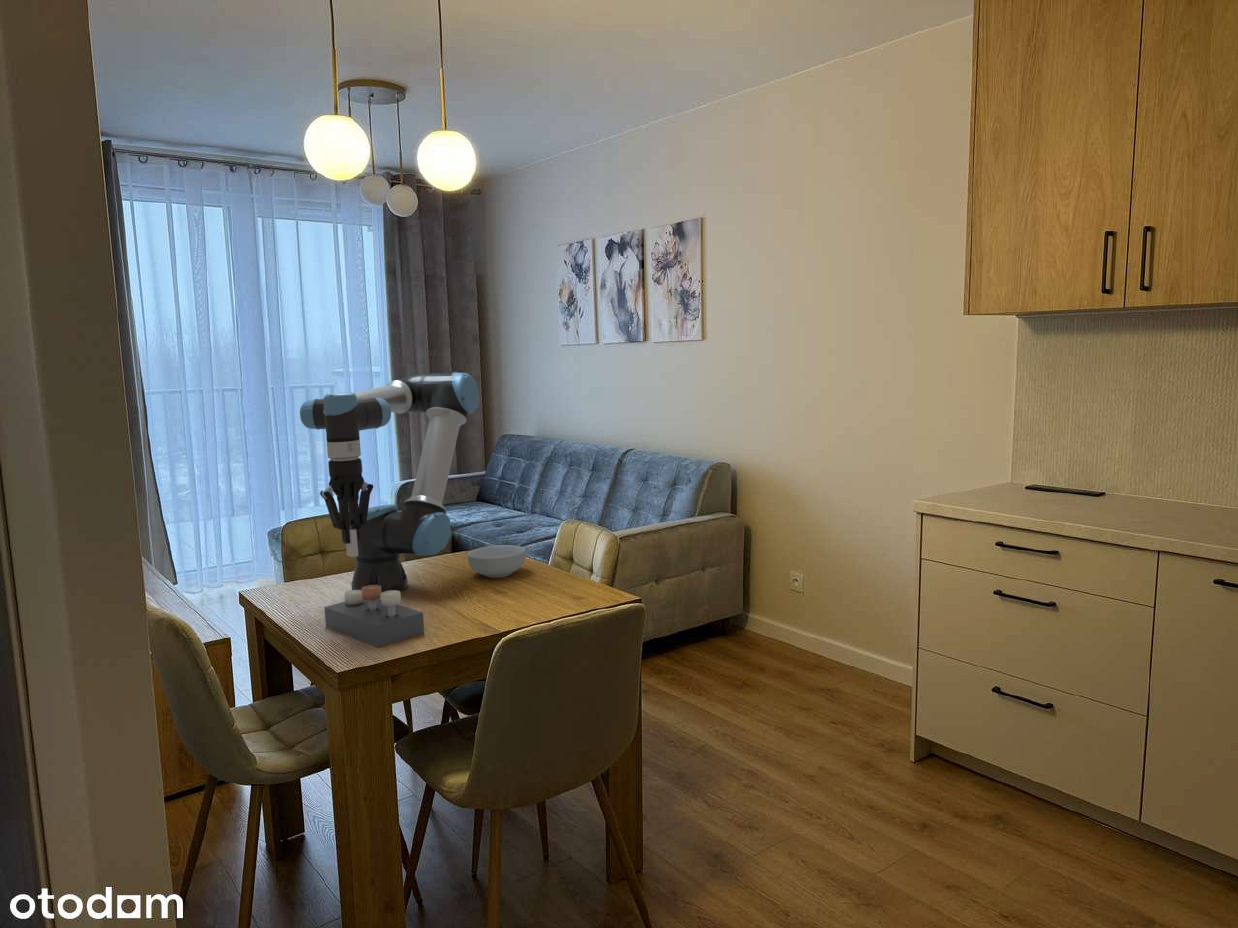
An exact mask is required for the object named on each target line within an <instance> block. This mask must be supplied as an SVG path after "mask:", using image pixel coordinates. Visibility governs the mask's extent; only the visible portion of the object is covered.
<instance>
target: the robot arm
mask: <svg viewBox="0 0 1238 928" xmlns="http://www.w3.org/2000/svg"><path fill="white" fill-rule="evenodd" d="M479 405H480V392H479V388H478V386H477V383H476V380H475V379H474V378H473V376H471V375H470V373H466V372H456V371H453V372H442V373H441V372H439V373H437V372H436V373H431V372H430V373H428V372H426V373H418V374H415V375H411V376H410V375H409V376H407V377H403V378H400V379H396V380H395V379H394V380H391V381H389V382H388V383H386V385H383V386H380V387H374V388H371V389H366V390H360V391H356V392H336V393H335V392H334V393H326V394H325V395H324V396H323V398H313V399H308V400H305V401H304V402H303V403H302V404H301V406H300V409H299V415H300V416H299V418H300V422H301V423H302V425H303V426H304V427H306V428H307V429H310V430H311V429H312V430H325V436H326V438H325V439H326V452H327V453H326V455H327V458H328V459H329V461H328V462H327V463H328V464H327V465H328V474H329V482H328V486H327V487H326V488H325V490H320V492H319V495H320V496H321V498H322V499H323V500H324V502H325V506H326V508H327V511H328V515H329V517H330V520H331V524H332V527H333V528H334V529H337V530H341V537H342V538H341V539H342V543H343V544H345V549H346V556H347V557H351V558H355V559H356V565H355V569H354V571H353V577H352V581H351V590H362V587H364V586H367V585H380V586H381V592H385V591H391V590H397V591H400V592H402V591H403V590H405V589H407V588H408V586H409V584H408V583H409V582H408V580H409V579H408V576H407V574H406V571H405V569H404V567H403V563H402V561H401V557H400V555H413V556H414V555H415V556H423V557H424V556H434V555H438V554H439V553H440V552H442V551H443V550H444V549H445V547H446V546H447V544H448V543H449V539H450V536H451V531H452V527H451V526H450V525H451V524H452V523H451V519H450V517H449V516H448V515H447V514H446V513H447V509H446V508H445V506H444V505H443V501H444V497H445V492H446V488H447V483H448V480H449V475H450V471H451V467H452V463H453V459H454V458H453V457H454V452H455V450H456V449H455V448H456V445H457V440H458V435H459V431H460V427H461V426H463V425H466V423H467V420H468V415H469V414H473V413H475V412H476V411H477V410H478V409H479V407H480V406H479ZM392 413H395V414H404V413H405V414H406V413H420V414H426V416H427V417H428V419H429V422H428V425H427V429H426V430H427V431H426V434H425V439H424V443H423V446H422V451H421V454H420V455H421V456H420V458H419V463H418V468H417V472H416V476H415V480H414V484H413V488H412V491H411V496H410V497H409V498H408V499H406V500H404V502H403V505H402V508H401V510H398V507H397V505H396V504H384V505H376V506H370V498H371V493H372V491H373V489H374V485H373V484H372V483H368V482H366V481H365V479H364V477H363V463H362V462H363V461H362V459H361V458H360V456H362V451H361V450H362V449H361V440H360V439H361V437H360V431H366V430H372V429H374V430H375V429H376V430H377V429H379V428H382V427H385V426H386V425H388V423H389V422H390V421H391V418H392ZM359 493H360V494H359ZM334 495H335V496H336V499H337V500H335V498H334ZM336 501H337V503H338V506H337V503H336Z"/></svg>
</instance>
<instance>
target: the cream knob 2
mask: <svg viewBox="0 0 1238 928" xmlns="http://www.w3.org/2000/svg"><path fill="white" fill-rule="evenodd" d="M380 595H381V598H380V599H381V605H383V606H388V618H393V617H396V615H395V605H401V603H402V595H401V591H397V590H391V591H385V592H382V593H381V594H380Z"/></svg>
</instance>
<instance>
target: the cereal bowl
mask: <svg viewBox="0 0 1238 928" xmlns="http://www.w3.org/2000/svg"><path fill="white" fill-rule="evenodd" d="M526 555H527V554H526V548H524V546H519V545H511V544H500V545H499V544H498V545H488V546H483V547H478V548H475V549H472V550H470V551H469V552H468V553H467V561H468V564H469V567H470V568H471V570H472V571H474V572H475V573H477V574H480V575H484V576H485V577H486V578H494V579H495V578H496V579H497V578H498V579H499V578H505V577H508V576H511V575H512V574H513V572H516V571H518V570H519V569H520V568H522V566H523V565H524V563H525V561H526Z"/></svg>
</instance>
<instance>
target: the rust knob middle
mask: <svg viewBox="0 0 1238 928" xmlns="http://www.w3.org/2000/svg"><path fill="white" fill-rule="evenodd" d="M381 593H382V592H381V586H380V585H367V586H364V587H362V599H364V600H369V611H370V612H372V611H376V599H378V598H379V599H381V595H380V594H381Z"/></svg>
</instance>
